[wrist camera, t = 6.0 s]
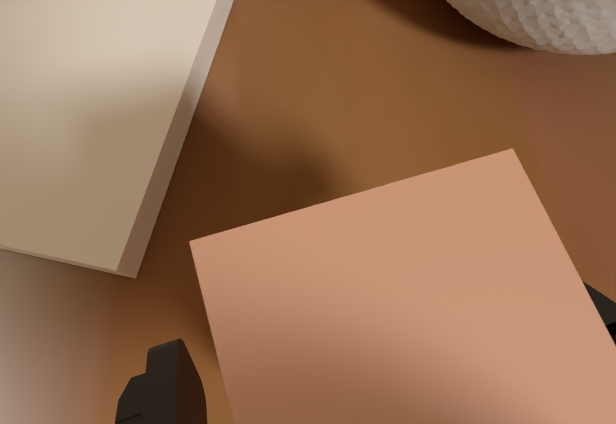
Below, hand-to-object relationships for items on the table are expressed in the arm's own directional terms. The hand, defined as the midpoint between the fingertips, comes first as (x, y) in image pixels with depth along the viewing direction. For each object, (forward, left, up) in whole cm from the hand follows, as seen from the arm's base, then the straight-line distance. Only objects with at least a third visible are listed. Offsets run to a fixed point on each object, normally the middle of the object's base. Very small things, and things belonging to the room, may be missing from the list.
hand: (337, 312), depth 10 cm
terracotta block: (+1, +1, -5) cm, 6 cm away
